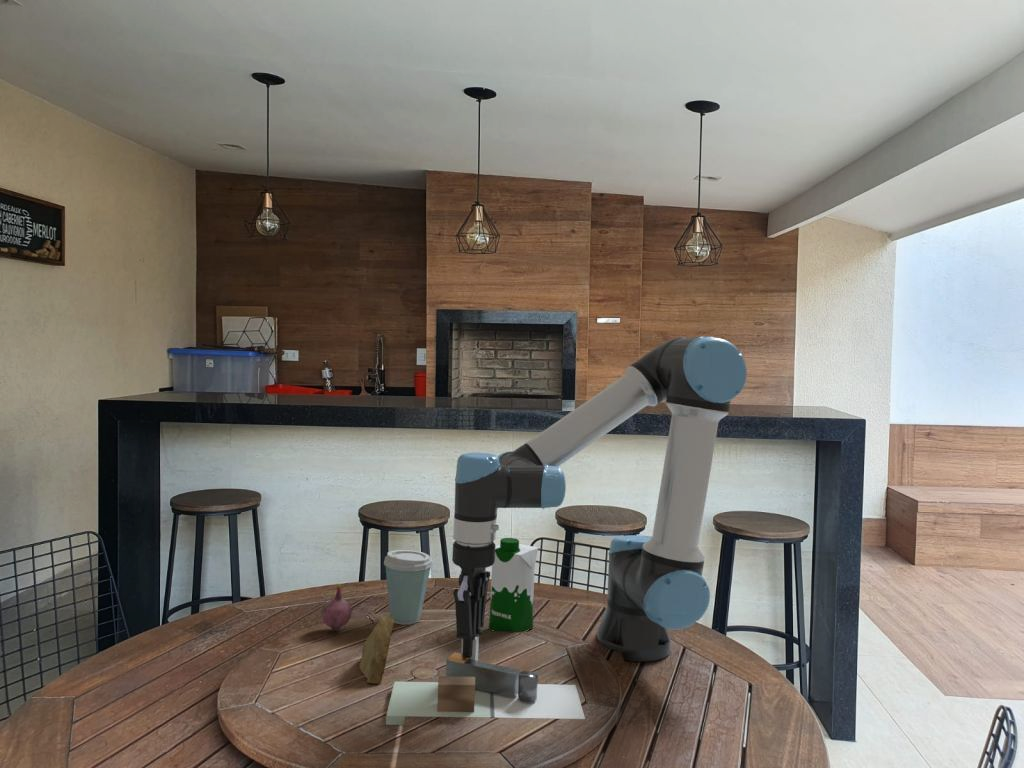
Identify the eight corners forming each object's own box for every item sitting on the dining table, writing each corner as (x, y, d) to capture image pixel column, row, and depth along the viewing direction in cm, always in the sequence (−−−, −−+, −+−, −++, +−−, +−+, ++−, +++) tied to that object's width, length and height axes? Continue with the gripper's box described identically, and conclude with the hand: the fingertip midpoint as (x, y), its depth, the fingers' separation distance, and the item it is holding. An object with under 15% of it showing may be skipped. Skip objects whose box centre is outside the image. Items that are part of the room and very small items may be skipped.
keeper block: (474, 703, 123) (475, 676, 123) (474, 712, 120) (475, 685, 120) (438, 702, 123) (439, 676, 123) (437, 711, 120) (438, 684, 120)
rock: (393, 677, 130) (415, 648, 140) (364, 637, 130) (389, 610, 140) (349, 702, 134) (374, 672, 143) (322, 663, 134) (348, 636, 143)
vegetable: (355, 633, 155) (357, 586, 154) (327, 638, 151) (328, 590, 151) (344, 623, 160) (346, 577, 159) (316, 628, 156) (318, 582, 156)
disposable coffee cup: (405, 607, 171) (407, 543, 170) (440, 619, 164) (443, 552, 163) (371, 620, 162) (373, 553, 161) (407, 633, 156) (409, 563, 155)
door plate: (574, 693, 132) (575, 684, 132) (584, 727, 120) (585, 718, 120) (394, 689, 130) (394, 681, 130) (386, 724, 118) (386, 715, 118)
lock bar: (539, 695, 126) (540, 669, 126) (532, 704, 123) (534, 677, 123) (452, 675, 132) (453, 650, 132) (444, 683, 129) (445, 657, 129)
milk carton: (482, 630, 159) (486, 538, 158) (505, 618, 166) (509, 530, 165) (517, 641, 154) (521, 546, 153) (539, 628, 162) (543, 537, 161)
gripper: (482, 553, 123) (476, 691, 124) (505, 535, 135) (499, 661, 137) (440, 547, 125) (435, 684, 126) (467, 530, 137) (461, 654, 139)
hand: (468, 672), depth 131 cm, fingers closed
